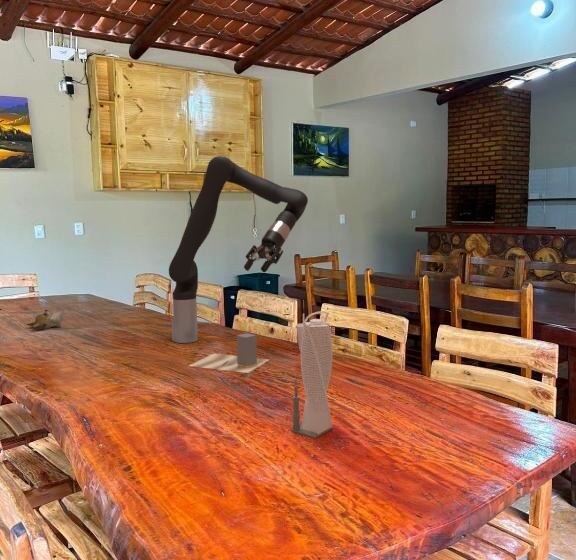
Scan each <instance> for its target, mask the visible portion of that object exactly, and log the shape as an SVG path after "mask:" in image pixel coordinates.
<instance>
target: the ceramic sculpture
mask: <svg viewBox="0 0 576 560" xmlns="http://www.w3.org/2000/svg"><path fill="white" fill-rule="evenodd" d="M63 311H64V310H60V311H57V312H53V311H51V310H48V309H45V310H44V312H40V313H38V314H37V315H36V316H35V318H34V319H35V321H33V322H31V323H29V322H28V323H26V325H27V326H29V328H30V329H32V330H45V329H49V328H51V327H56V328H59V327H61V325H62V321H63V320H64V316H63V315H64V312H63Z"/></svg>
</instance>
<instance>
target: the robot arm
mask: <svg viewBox="0 0 576 560" xmlns="http://www.w3.org/2000/svg"><path fill="white" fill-rule="evenodd" d="M206 167H207V168H206V171H205V175H204V179H203V182H202V187H201V188H200V192H199V194H198V195H197V198H196V200H195V203H194V205H193V208H192V209H191V212H190V213H189V214H190V215H189V218H188V220H187V224H186V226H185V229H184V232H183V235H182V237H181V240H180V243H179V245H178V248H177V249H176V252H175V253H174V256H173V258H172V260H171V262H169V266H168V275H169V278H170V280H172V282H175V288H174V289H173V291H172V307H173V308H172V313H173V316H172V317H171V339H172V340H171V341H172V342H175V343H179V344H190V343H191V344H192V343H194V342H197V341H199V339H198V337H199V334H198V332H199V331H198V306H197V292H198V288H199V284H198V283H199V271H198V265H197V263H196V261H195V258H196V255H197V252H198V251H199V248H200V247H201V246H202V245H203V243H204V242H205V241H206V240H207V237H208V236H209V234H210V232H211V230H212V228H213V226H214V225H213V224H214V222H215V219H216V216H217V211H218V206H219V205H218V204H219V199H220V196H221V193H222V191H223V188H224V187H225V184H226V182H228V183H231V184H235V185H237V186H240V187H242V188H243V189H246V190H247V191H249V192H251V193H253V194H254V195H256V196H257V197H259V198H261V199H263V200H266V201H267V202H270V203H272V204H275V205H279V204H280V203H281V202H282V203H285V204H286V205H285V207H284V209H283V210H282V211H281V212H280V213H279V214H278V215H277V217H276V218H275V220H274V221H273V222H272V224H271V225H270V226H269V228H268V229H267V231H266V232H265V234H264V235H263V237H262V238H261V244H260V245H259V246H257V245H255V244H254V245H252V247H251V248H250V250H249V251H248V252H247V254H246V255H245V258H246V260H247V261H246V262H245V263H244V266H243V268H244V270H245V271H247V272H248V271H250V269H251V268H252V266H253V264H254V263H256V262H257V261H260V260H261V259H262V260H263V259H265V260H264V263H263V264H262V266H260V271H261V272H262V273H266V272H267V271H268V270H269V268H270V267H271V266H272V265H277V264H278V262H279V261H280V259H281V257H282V255H283V253H284V250H283V249H282V247H283V246H284V244H285V242H286V240H287V239H288V238H289V236H290V233H291V232H292V230H293V228H294V227H295V225H296V223H297V222H298V221H299V219H300V218H301V217H302V216H303V214H304V212H305V210H306V207H307V205H308V202H309V199H308V196H307V195H306V193H304V192H302V191H301V190H300V189H299V190H298V189H295V188H290V187H286V186H281V185H279V184H277V183H276V182H273V181H271V180H268V179H266V178H264V177H261V176H259V175H256V174H253V173H252V172H250V171H248V170H246V169H244V168H242V167H241V166H239V165H238V164H236V163H235V162H234V161H232V160H231V159H230V158H228V157H226V156H222V155H218V156H217V155H216V156H214V157H212V158H211V160H210V161H209V162H208V164H207V166H206Z"/></svg>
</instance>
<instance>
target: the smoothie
mask: <svg viewBox="0 0 576 560" xmlns="http://www.w3.org/2000/svg"><path fill="white" fill-rule="evenodd" d="M304 321H305V313H303V314H302V323H297V324H295V329H296V335H297V341H298V351H299V352H300V353H301V341H302V332H303V323H304ZM303 342H304V341H303Z"/></svg>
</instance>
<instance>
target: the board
mask: <svg viewBox="0 0 576 560" xmlns="http://www.w3.org/2000/svg"><path fill="white" fill-rule="evenodd" d="M268 361H270V359H266V358H259V357H257V365H256V366H252V367H249V368H244V367H241V366H237V355H229V354H222V353H221V354H219V353H211V354H209V355H207V356H205V357H203V358H201V359H199V360H197V361H195V362H193V363H191V364H189V365H188V367H195V368H203V369H210V370H211V369H212V370H219V371H228V372H235V373H236V372H237V373H245V374H242V375H239V377H242V378H247V379H248V378H250V377H252V376H253V375H255V374H256V373H258V372H259V371H260V369H258V370H255V369H257V368H259V367H260V366H262V365H263V364H265V363H267V362H268ZM254 370H255V371H254Z"/></svg>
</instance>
